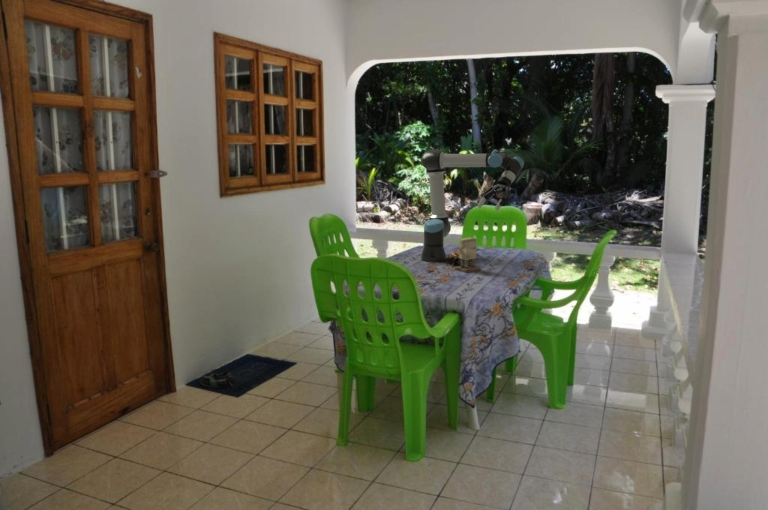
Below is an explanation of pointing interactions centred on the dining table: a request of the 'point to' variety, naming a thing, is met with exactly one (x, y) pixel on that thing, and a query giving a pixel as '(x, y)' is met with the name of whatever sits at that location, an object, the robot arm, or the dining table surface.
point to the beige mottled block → (467, 248)
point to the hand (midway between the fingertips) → (487, 208)
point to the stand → (467, 266)
